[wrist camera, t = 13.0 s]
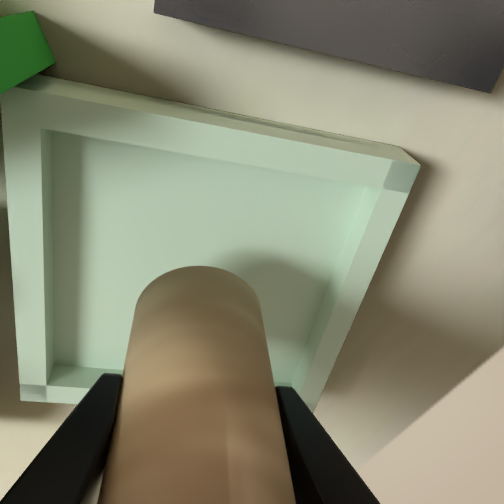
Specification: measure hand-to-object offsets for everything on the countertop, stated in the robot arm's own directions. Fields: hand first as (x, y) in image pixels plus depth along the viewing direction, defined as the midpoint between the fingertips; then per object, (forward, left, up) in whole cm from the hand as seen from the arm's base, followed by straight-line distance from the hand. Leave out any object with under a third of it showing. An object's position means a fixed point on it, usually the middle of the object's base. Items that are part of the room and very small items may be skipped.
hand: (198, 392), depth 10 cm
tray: (0, 0, -5) cm, 5 cm away
